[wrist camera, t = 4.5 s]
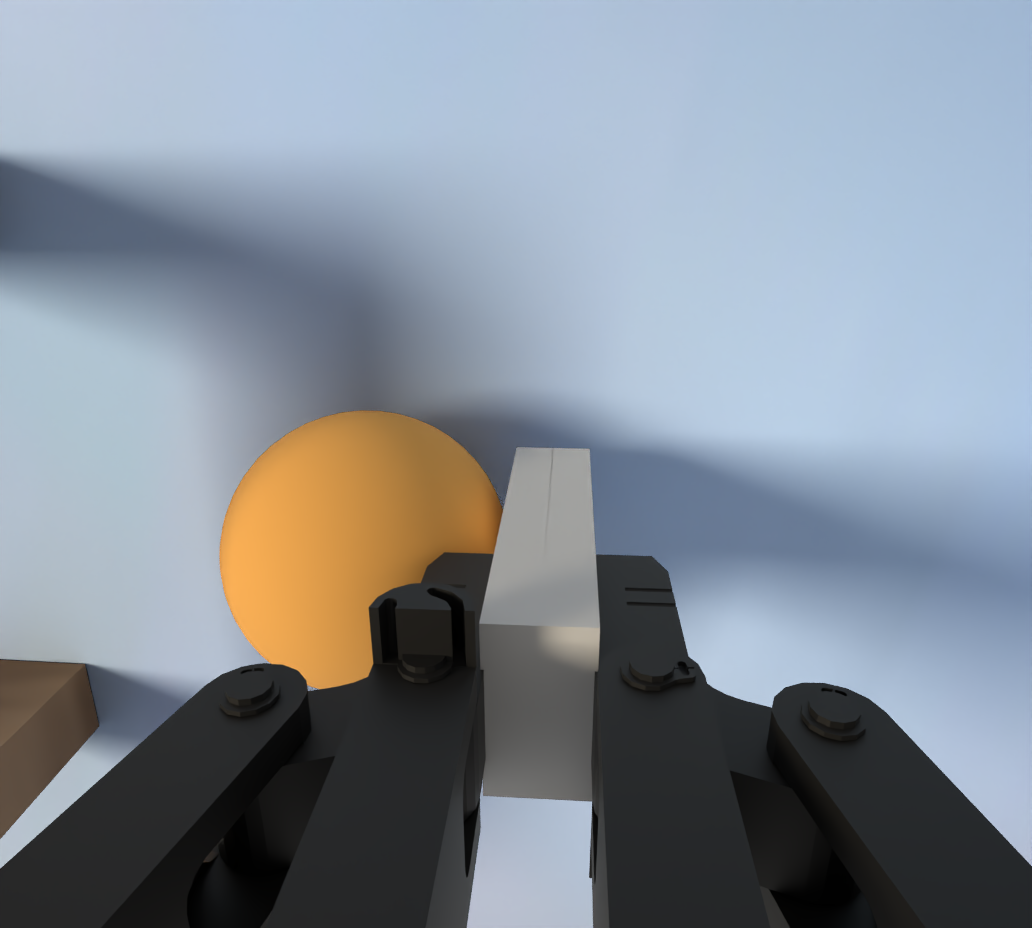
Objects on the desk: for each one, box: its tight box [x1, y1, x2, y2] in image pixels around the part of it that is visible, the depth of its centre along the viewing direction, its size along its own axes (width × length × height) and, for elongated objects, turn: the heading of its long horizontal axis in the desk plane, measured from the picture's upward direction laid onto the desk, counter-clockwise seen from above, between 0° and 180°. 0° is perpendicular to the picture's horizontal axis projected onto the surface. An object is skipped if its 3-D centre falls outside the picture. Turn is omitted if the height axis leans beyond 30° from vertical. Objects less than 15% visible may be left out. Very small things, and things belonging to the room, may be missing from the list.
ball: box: [220, 410, 503, 689], centre depth 15 cm, size 6×6×6 cm
